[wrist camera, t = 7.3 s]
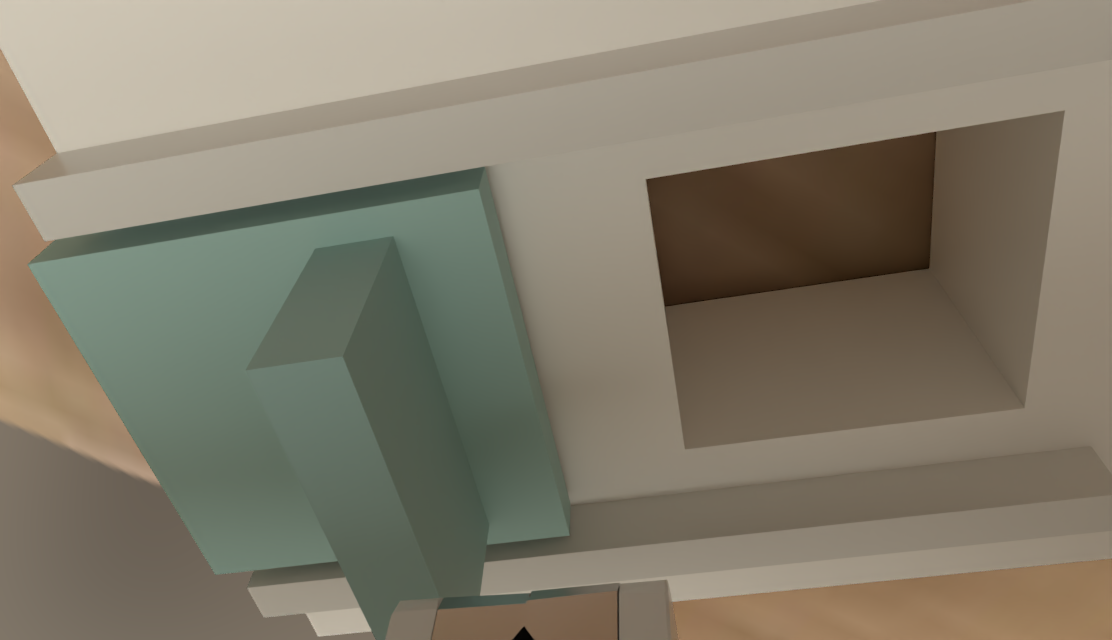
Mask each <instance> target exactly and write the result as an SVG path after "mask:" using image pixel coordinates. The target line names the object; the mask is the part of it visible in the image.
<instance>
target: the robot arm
mask: <svg viewBox="0 0 1112 640" xmlns="http://www.w3.org/2000/svg"><path fill="white" fill-rule="evenodd" d="M385 640H679V639H678V633H677V627H676V621H675V615H674V610H673V604H672V598H671V592H670V586H669V583H668V580H657V581H645V582H634V583H622V584H620V583H610V584H599V585H589V586H578V587H568V588H557V589H547V590H537V591H531V593H521V594H502V595H484V596H465V597H446V598H432V599H418V600H404V601H400V602H399V603H398V605H397V607H396V608H395V610H394V612H393V613H392V615H391V618H390V622H389V626H388V630H387V634H386V638H385Z"/></svg>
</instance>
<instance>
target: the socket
mask: <svg viewBox="0 0 1112 640" xmlns="http://www.w3.org/2000/svg"><path fill="white" fill-rule="evenodd" d="M0 48H1V50H2V52H3V54H4V56H5V58H6V60H7V61H8V63H9V65H10V67H11V69H12V71H13V72H14V74H15V76H16V78H17V80H18V82H19V84H20V85H21V87H22V89H23V91H24V93H25V95H26V97H27V98H28V100H29V102H30V104H31V106H32V108H33V109H34V111H35V113H36V115H37V117H38V119H39V121H40V122H41V124H42V126H43V128H44V130H45V132H46V134H47V135H48V137H49V139H50V141H51V143H52V145H53V147H54V148H55V150H56V152H57V154H55V155H54V156H52V157H51V158H50V159H48V160H47V161H45V162H44V163H43V164H41V165H40V166H39V167H37V168H36V169H34V170H33V171H32V172H30V173H29V174H27V175H26V176H25V177H23V178H22V179H20V180H19V181H18V182H16V183H15V184H14V185H12V186H13V188H14V190H15V191H16V193H17V195H18V196H19V198H20V200H21V202H22V203H23V205H24V207H25V208H26V210H27V212H28V214H29V215H30V217H31V219H32V220H33V222H34V224H35V226H36V227H37V229H38V231H39V232H40V234H41V236H42V238H43V239H44V241H51V240H57V239H63V238H68V237H74V236H80V235H86V234H92V233H98V232H104V231H110V230H115V229H121V228H127V227H133V226H139V225H145V224H151V223H156V222H162V221H168V220H174V219H180V218H186V217H192V216H198V215H203V214H209V213H215V212H221V211H227V210H233V209H239V208H244V207H250V206H256V205H262V204H268V203H274V202H280V201H286V200H291V199H297V198H303V197H309V196H315V195H321V194H327V193H332V192H338V191H344V190H350V189H356V188H362V187H368V186H373V185H379V184H385V183H391V182H397V181H403V180H409V179H415V178H420V177H426V176H432V175H438V174H444V173H450V172H456V171H461V170H467V169H473V168H479V167H485V170H486V174H487V178H488V182H489V185H490V189H491V193H492V197H493V201H494V205H495V209H496V213H497V217H498V221H499V225H500V229H501V233H502V237H503V240H504V244H505V248H506V252H507V256H508V260H509V264H510V268H511V272H512V276H513V280H514V284H515V288H516V292H517V296H518V299H519V303H520V307H521V311H522V315H523V319H524V323H525V327H526V331H527V335H528V339H529V343H530V347H531V351H532V354H533V358H534V362H535V366H536V370H537V374H538V378H539V382H540V386H541V390H542V394H543V398H544V402H545V406H546V409H547V413H548V417H549V421H550V425H551V429H552V433H553V437H554V441H555V445H556V449H557V453H558V457H559V461H560V465H561V468H562V472H563V476H564V480H565V484H566V488H567V492H568V496H569V500H570V504H571V505H570V536H562V537H553V538H544V539H535V540H526V541H517V542H508V543H499V544H490V545H487V546H486V554H485V561H484V569H483V576H482V584H481V592H480V596H484V595H502V594H521V593H531V591H537V590H547V589H557V588H568V587H578V586H589V585H599V584H610V583H620V584H622V583H634V582H645V581H657V580H668V583H669V586H670V592H671V598H672V602H675V601H686V600H696V599H706V598H716V597H726V596H736V595H747V594H757V593H767V592H777V591H787V590H798V589H808V588H818V587H828V586H838V585H848V584H859V583H869V582H879V581H889V580H899V579H910V578H920V577H930V576H940V575H950V574H960V573H971V572H981V571H991V570H1001V569H1011V568H1022V567H1032V566H1042V565H1052V564H1062V563H1072V562H1083V561H1093V560H1103V559H1112V0H0ZM930 132H936V150H935V170H934V189H933V209H932V228H931V247H930V267H929V269H923V270H916V271H909V272H902V273H895V274H888V275H881V276H874V277H867V278H860V279H853V280H846V281H839V282H832V283H825V284H818V285H811V286H805V287H798V288H791V289H784V290H777V291H770V292H763V293H756V294H749V295H742V296H735V297H728V298H721V299H714V300H707V301H700V302H693V303H686V304H680V305H673V306H666V307H665V304H664V298H663V291H662V284H661V277H660V270H659V263H658V256H657V250H656V243H655V236H654V229H653V222H652V215H651V208H650V202H649V195H648V188H647V181H646V179H650V178H656V177H662V176H668V175H674V174H680V173H687V172H693V171H699V170H705V169H711V168H717V167H723V166H729V165H735V164H741V163H747V162H753V161H760V160H766V159H772V158H778V157H784V156H790V155H796V154H802V153H808V152H814V151H820V150H827V149H833V148H839V147H845V146H851V145H857V144H863V143H869V142H875V141H881V140H887V139H893V138H900V137H906V136H912V135H918V134H924V133H930ZM247 589H248V590H249V593H250V594H251V596H252V598H253V599H254V601H255V603H256V604H257V606H258V608H259V610H260V611H261V613H262V615H263V616H264V617H274V616H284V615H293V614H303V613H306V615H307V617H308V619H309V620H310V622H311V624H312V626H313V628H314V630H315V631H316V633H317V635H318V637H319V636H329V635H339V634H350V633H359V632H370V631H371V629H370V627H369V625H368V623H367V621H366V618H365V616H364V614H363V612H362V610H361V608H360V606H359V604H358V602H357V600H356V598H355V596H354V594H353V592H352V590H351V587H350V585H349V583H348V581H347V579H346V577H345V575H344V573H343V571H342V569H341V567H340V565H339V563H338V561H335V562H326V563H317V564H308V565H299V566H290V567H281V568H272V569H263V570H254V572H253V574H252V577H251V579H250V582H249V584H248V586H247Z"/></svg>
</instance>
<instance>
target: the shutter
mask: <svg viewBox="0 0 1112 640" xmlns="http://www.w3.org/2000/svg"><path fill="white" fill-rule="evenodd" d="M27 265H28V266H29V268H30V269H31V271H32V273H33V274H34V276H35V278H36V279H37V281H38V283H39V284H40V286H41V288H42V289H43V291H44V293H45V294H46V296H47V298H48V299H49V301H50V303H51V304H52V306H53V307H54V309H55V311H56V312H57V314H58V316H59V317H60V319H61V321H62V322H63V324H64V326H65V327H66V329H67V331H68V332H69V334H70V336H71V337H72V339H73V340H74V342H75V344H76V345H77V347H78V349H79V350H80V352H81V354H82V355H83V357H84V359H85V360H86V362H87V364H88V365H89V367H90V369H91V370H92V372H93V374H94V375H95V377H96V378H97V380H98V382H99V383H100V385H101V387H102V388H103V390H104V392H105V393H106V395H107V397H108V398H109V400H110V402H111V403H112V405H113V407H114V408H115V410H116V411H117V413H118V415H119V416H120V418H121V420H122V421H123V423H124V425H125V426H126V428H127V430H128V431H129V433H130V435H131V436H132V438H133V440H134V441H135V443H136V445H137V446H138V448H139V449H140V451H141V453H142V454H143V456H144V458H145V459H146V461H147V463H148V464H149V466H150V468H151V469H152V471H153V473H154V474H155V476H156V478H157V479H158V481H159V483H160V484H161V486H162V487H163V489H164V491H165V492H166V494H167V496H168V497H169V499H170V500H171V502H172V504H173V506H174V507H175V509H176V511H177V512H178V514H179V516H180V517H181V519H182V520H183V522H184V524H185V525H186V527H187V529H188V530H189V532H190V534H191V535H192V537H193V539H194V540H195V542H196V544H197V545H198V547H199V548H200V550H201V552H202V553H203V555H204V557H205V558H206V560H207V562H208V563H209V565H210V567H211V568H212V570H213V571H214V573H215V575H217V574H226V573H236V572H244V571H254V570H263V569H272V568H281V567H290V566H299V565H308V564H317V563H326V562H335V561H338V563H339V565H340V567H341V569H342V571H343V573H344V575H345V577H346V579H347V581H348V583H349V585H350V587H351V590H352V592H353V594H354V596H355V598H356V600H357V602H358V604H359V606H360V608H361V610H362V612H363V614H364V616H365V618H366V621H367V623H368V625H369V627H370V629H371V631H372V633H373V635H374V637H375V639H376V640H385V638H386V634H387V630H388V626H389V622H390V618H391V615H392V613H393V612H394V610H395V608H396V607H397V605H398V603H399V602H400V601H404V600H418V599H432V598H446V597H465V596H480V592H481V584H482V576H483V569H484V561H485V554H486V546H487V545H490V544H499V543H508V542H517V541H526V540H535V539H544V538H553V537H562V536H570V505H571V504H570V500H569V496H568V492H567V488H566V484H565V480H564V476H563V472H562V468H561V465H560V461H559V457H558V453H557V449H556V445H555V441H554V437H553V433H552V429H551V425H550V421H549V417H548V413H547V409H546V406H545V402H544V398H543V394H542V390H541V386H540V382H539V378H538V374H537V370H536V366H535V362H534V358H533V354H532V351H531V347H530V343H529V339H528V335H527V331H526V327H525V323H524V319H523V315H522V311H521V307H520V303H519V299H518V296H517V292H516V288H515V284H514V280H513V276H512V272H511V268H510V264H509V260H508V256H507V252H506V248H505V244H504V240H503V237H502V233H501V229H500V225H499V221H498V217H497V213H496V209H495V205H494V201H493V197H492V193H491V189H490V185H489V182H488V178H487V174H486V170H485V167H479V168H473V169H467V170H461V171H456V172H450V173H444V174H438V175H432V176H426V177H420V178H415V179H409V180H403V181H397V182H391V183H385V184H379V185H373V186H368V187H362V188H356V189H350V190H344V191H338V192H332V193H327V194H321V195H315V196H309V197H303V198H297V199H291V200H286V201H280V202H274V203H268V204H262V205H256V206H250V207H244V208H239V209H233V210H227V211H221V212H215V213H209V214H203V215H198V216H192V217H186V218H180V219H174V220H168V221H162V222H156V223H151V224H145V225H139V226H133V227H127V228H121V229H115V230H110V231H104V232H98V233H92V234H86V235H80V236H74V237H68V238H63V239H57V240H55V241H53V242H52V243H51V244H50V245H49V246H48V247H47V248H45V249H44V250H43V251H42V252H41V253H40V254H39V255H38V256H36V257H35V258H34V259H33V260H32V261H31V262H30V263H28V264H27Z"/></svg>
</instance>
